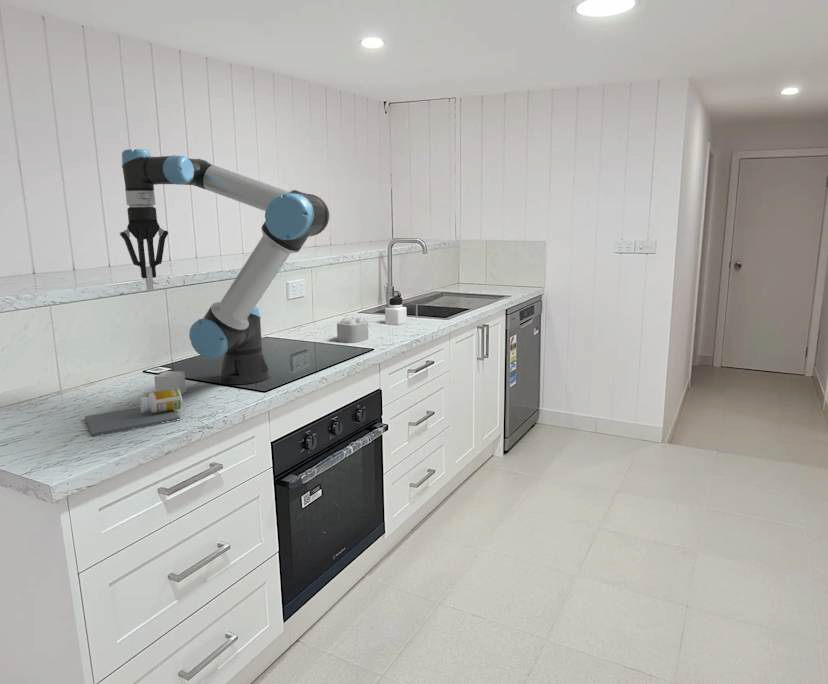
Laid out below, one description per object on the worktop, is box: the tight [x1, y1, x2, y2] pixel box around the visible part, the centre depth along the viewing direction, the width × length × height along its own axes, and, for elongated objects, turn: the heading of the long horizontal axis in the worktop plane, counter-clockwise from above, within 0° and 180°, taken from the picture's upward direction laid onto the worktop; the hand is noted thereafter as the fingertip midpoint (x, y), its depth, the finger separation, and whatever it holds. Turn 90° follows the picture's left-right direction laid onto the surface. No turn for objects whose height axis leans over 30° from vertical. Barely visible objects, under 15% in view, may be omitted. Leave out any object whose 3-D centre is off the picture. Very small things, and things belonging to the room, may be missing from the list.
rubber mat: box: [84, 406, 181, 437], centre depth 161 cm, size 20×15×1 cm
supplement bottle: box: [138, 389, 183, 413], centre depth 164 cm, size 5×5×10 cm
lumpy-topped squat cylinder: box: [336, 316, 369, 344], centre depth 252 cm, size 10×13×9 cm
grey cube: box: [153, 370, 187, 395], centre depth 182 cm, size 6×6×6 cm
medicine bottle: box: [384, 296, 408, 326], centre depth 284 cm, size 7×7×12 cm
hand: (150, 289), depth 184 cm, fingers closed
